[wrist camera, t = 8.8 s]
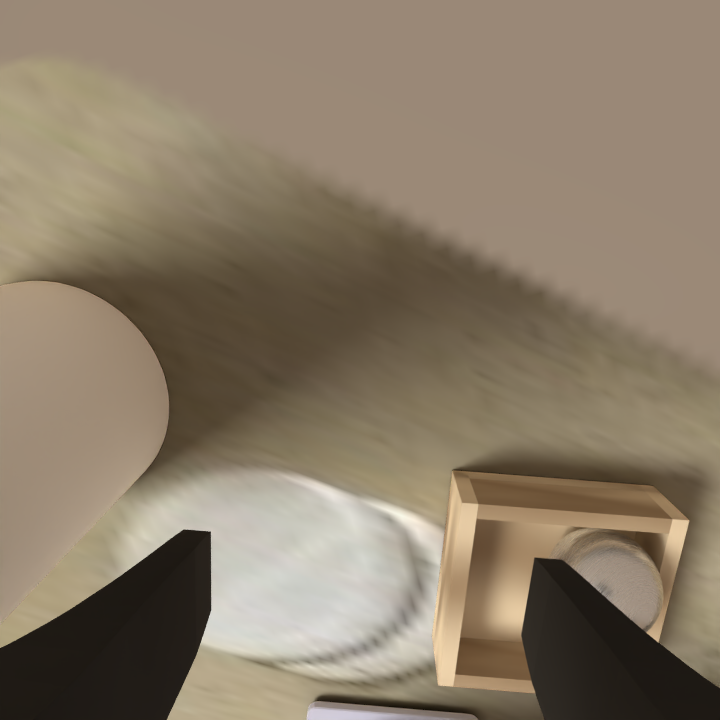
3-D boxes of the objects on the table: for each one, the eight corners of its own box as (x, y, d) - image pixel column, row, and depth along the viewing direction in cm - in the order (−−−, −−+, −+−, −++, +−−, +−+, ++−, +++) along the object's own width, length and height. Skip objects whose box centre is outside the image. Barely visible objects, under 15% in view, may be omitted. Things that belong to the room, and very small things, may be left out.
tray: (615, 651, 24) (643, 702, 21) (432, 636, 24) (438, 685, 21) (653, 485, 21) (689, 520, 19) (452, 470, 22) (461, 502, 19)
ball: (603, 585, 23) (680, 657, 19) (520, 600, 22) (584, 681, 18) (616, 501, 22) (700, 561, 18) (529, 514, 21) (600, 580, 17)
